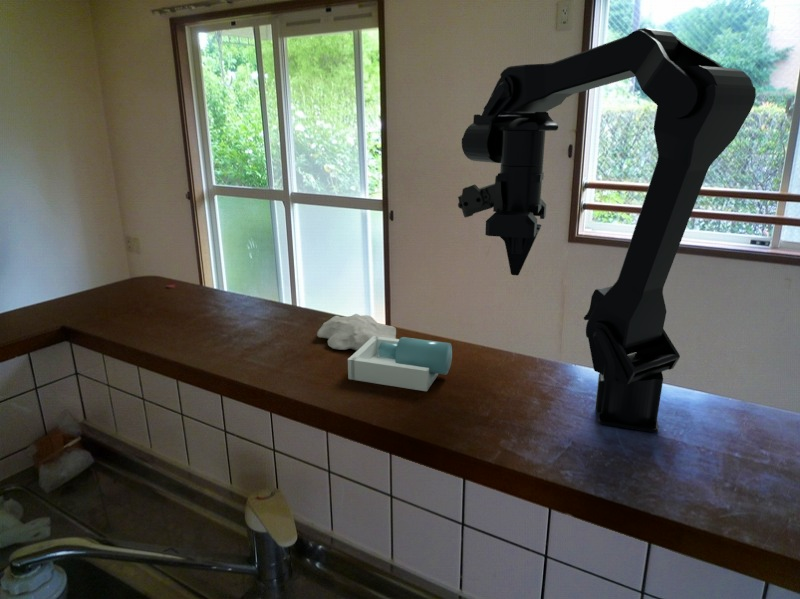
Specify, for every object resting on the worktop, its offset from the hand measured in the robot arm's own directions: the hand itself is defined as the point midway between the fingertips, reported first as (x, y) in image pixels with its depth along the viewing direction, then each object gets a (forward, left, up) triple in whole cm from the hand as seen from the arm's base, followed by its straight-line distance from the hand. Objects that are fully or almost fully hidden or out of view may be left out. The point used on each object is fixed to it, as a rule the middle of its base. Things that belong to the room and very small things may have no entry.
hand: (515, 274), depth 81 cm
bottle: (+7, +11, -10) cm, 16 cm away
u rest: (+14, +11, -13) cm, 22 cm away
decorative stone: (+24, +2, -14) cm, 28 cm away
